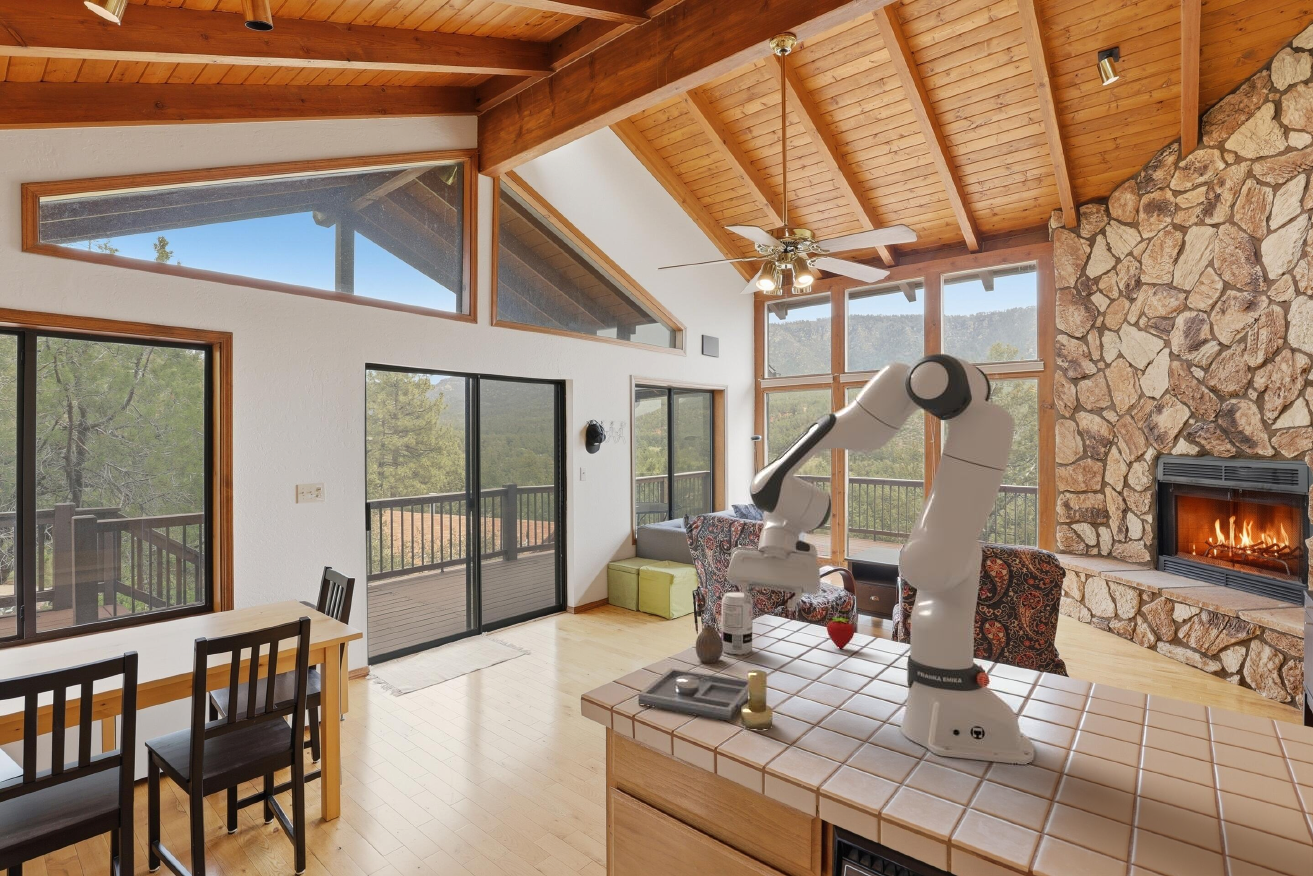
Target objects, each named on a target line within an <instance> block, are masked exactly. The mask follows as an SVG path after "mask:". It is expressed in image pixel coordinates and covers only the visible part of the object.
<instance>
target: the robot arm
mask: <svg viewBox="0 0 1313 876" xmlns="http://www.w3.org/2000/svg"><path fill="white" fill-rule="evenodd" d="M991 395H992V386H991V382H990V380H989V378H988V376H987V375H986V374H985V372H984V371H983V370H981V368H979V367H977V366H975V365H972V364H971V363H970V362H969V361H967V360H964V359H963V358H960V357H956V356H955V357H954V356H951V355H949V354H944V353H934V354H928V355H926V356H923V357H921V358H919V359H917V360H916V361H915V362H914V363H913V364H912V365H911V366H910V365H908V364H906V363H901V362H890V363H888V364H885V365H884V366H883V367H882V368H881V369H880V370H879V371H878V372H876V373H875V374H874V375H873V376H872V377H871V378H870V379H869V380H868V381H867V382H866V383H865V384H864V386H862V388H861V389H860V390H859V391H858V393H857V394H856V395H855V397H854V398H853V399H852V400H851V401H850V402H849V403H848V404H847V405H846V406H844V407H843V408H841V409H839V410H837V411H836V412H833V413H824V414H823V415H821V416H820V417H818V418H817V419H816V420H815V421H814V422H812V423H811V424H810V425H809V426H808V427H807V428H806V429H804V431H803V432H802V433H801V434H800V435H799V436H797V437H796V438H795V439H794V440H793V441H792V442H791V443H790V444H789V445H788V446H787V447H786V448H785V449H784V450H783V451H782V452H781V453H780V454H779V455H778V456H777V457H776V458H775V459H773V461H771V462H770V463H768V464H767V465H766V466H764V467H763V468H762V469H759V471H758V472H757V474H756V475H755V476H754V477H753V479H752V481H751V483H750V486H749V494H750V497H751V501H752V503H753V504H754V506H755V508H756V509H759V510H761V511H763V516H762V517H763V518H762V520H763V527H762V529H761V531H760V533H759V534H760V535H759V540H758V546H745V545H738V546H736V547H734V548H733V549H732V550H731V552H730V562H729V564H728V568H727V572H726V577H727V580H728V581H729V584H730V585H733V586H740V587H741V590H742V591H741V592H743V593H744V599H743V602H744V604H747V605H751V601H752V600H753V596H752V594H750V593H748V592H747V591H749V589H750V588H757V589H764V590H765V589H766V590H772V591H773V590H774V591H783V592H788V593H789V592H790V593H794V594H795V595H794V597H793V598H792V599H790V598H789V599H787V604H786V605H787V606H786V607H787V608H786V609H787V610H788V611H796V604H798V603H799V602H800V600H801V599H802V598H803V594H808V595H817V594H818V593H820V591H821V572H820V564H819V561H818V557H819V556H818V551H817V547H816V545H814V544H813V543H810V542H807V541H804V540H802V539H800V536H801V534H802V533H809V532H812V531H815V530H817V529H821V528H822V527H824V526H825V525H827V523H828V521H829V520H830V517H831V513H832V499H831V496H830V494H829V493H828V492H827V491H825V490H824V489H822V488H820V487H819V486H816V485H815V484H813V483H811V482H808V481H806V480H804V479H802V478H800V477H798V476H796V475H795V474H796V473H797V472H798V471H799V470H800V469H801V468H802V467H803V466H805V464H806V463H808V462H809V461H810V459H812V458H813V457H814V456H815V455H816V454H818V453H820V452H822V451H825V450H826V451H827V450H845V451H847V450H848V451H854V452H871V451H876V450H880V449H881V448H883V447H884V446H886V445H887V444H888V443H889V442H891V441H892V439H893V438H894V437H895V436H896V435H897V434H898V432H899V431H900V429H901V428H902V427H903V426H904V424H905V423H906V422H907V421H908V420H909V419H910V417H911V416H912V415H914V414H915V412H917V411H919V410H924V411H925V412H927V413H929V414H930V415H932V416H934V417H935V418H936V419H938V420H940V421H945V422H946V424H947V428H948V432H947V436H946V441H945V444H944V446H943V450H942V453H941V456H940V459H939V462H938V465H937V468H936V472H935V476H934V479H933V480H932V485H931V488H930V491H929V493H928V496H927V497H926V499H925V502H924V503H923V506H922V508H921V510H920V512H919V514H918V516H917V518H916V520H915V522H914V524H913V527H912V529H911V531H910V534H909V536H908V538H907V541H906V542H905V544H904V545H903V547H902V550H901V551H900V553H899V556H898V568H899V571H900V574H901V575H902V578H903V579H904V580H905V581H906V583H907V584H908V585H910V586H911V587H913V588H914V589H916V590H917V591H916V596H915V601H914V604H913V607H912V611H911V613H910V636H909V637H910V645H909V647H910V651H909V653H910V654H909V655H908V657H907V661H906V682H907V687H908V692H907V700H906V706H905V711H904V715H903V718H902V722H901V724H900V727H899V728H900V731H901V733H902V734H903V735H904V736H905V737H906V738H907V739H909V740H910V741H912V742H915V743H916V744H919V745H921V746H923V747H925V748H927V749H928V750H929V751H930V752H931V753H933V754H935V755H938V756H941V757H949V758H950V757H951V758H959V759H968V760H976V761H977V760H978V761H988V762H995V763H1007V764H1014V763H1015V765H1016V763H1017V765H1028V764H1027V763H1029V762H1031V761H1032V760H1033V761H1034V759H1035V749H1034V744H1033V742H1032V741H1031V739H1030V738H1029V737H1028V736H1027V735H1026V734H1024V732H1021V730H1020V729H1021V728H1020V725H1019V720H1018V718H1017V715H1016V713H1015V711H1014V710H1013V709H1012V707H1011V706H1010V705H1009V703H1007V702H1005V701H1004V700H1003V699H1002V698H1001V697H999V696H998V695H997V694H995V693H994V692H993V691H992V690H991V689H990V688H989V687H988V686H989V685H990V682H991V680H990V678H989V675H988V674H987V673H986V670H985V669H983V666H982V664H979V665H978V664H977V663H975V662H974V655H975V654H974V653H975V652H974V646H975V645H974V644H975V643H974V641H975V640H974V638H975V637H974V636H975V635H974V634H975V616H976V609H977V602H978V595H979V588H980V577H981V566H982V562H983V561H982V560H983V549H982V546H981V544H980V542H979V541H978V540H979V538H980V536H981V533H982V532H983V530H984V527H985V525H986V522H988V519H989V516H990V515H991V514H992V511H993V509H994V506H995V502H996V500H997V498H998V493H999V491H1000V488H1001V484H1002V481H1003V478H1004V477H1005V472H1006V469H1007V467H1008V463H1009V459H1010V455H1011V451H1012V447H1013V440H1014V431H1015V420H1014V417H1013V415H1012V414H1011V413H1010V412H1009V411H1008V410H1007V409H1006V408H1005V407H1002V406H1001V405H999V404H996V403H993V402H990V398H991ZM747 593H748V594H747ZM1033 758H1034V759H1033ZM1033 761H1032V762H1033ZM1032 762H1031V763H1032ZM1029 764H1030V763H1029Z"/></svg>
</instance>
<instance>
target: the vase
mask: <svg viewBox="0 0 1313 876" xmlns="http://www.w3.org/2000/svg"><path fill="white" fill-rule="evenodd" d="M695 652H696V655H697V657H698V659H699V660H700V661H701V662H702V663H706V664H714V663H717V662H718V661H719V660H720V659H721V657H722V655H723V652H724V651H723V643H722V639H721V634H719V633H718V631H717V630H716V628H715V625H712V624H705V625H704V628H703V629H702V631H701V632H700V633H699V634H698V635H697V638H696V639H695Z"/></svg>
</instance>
